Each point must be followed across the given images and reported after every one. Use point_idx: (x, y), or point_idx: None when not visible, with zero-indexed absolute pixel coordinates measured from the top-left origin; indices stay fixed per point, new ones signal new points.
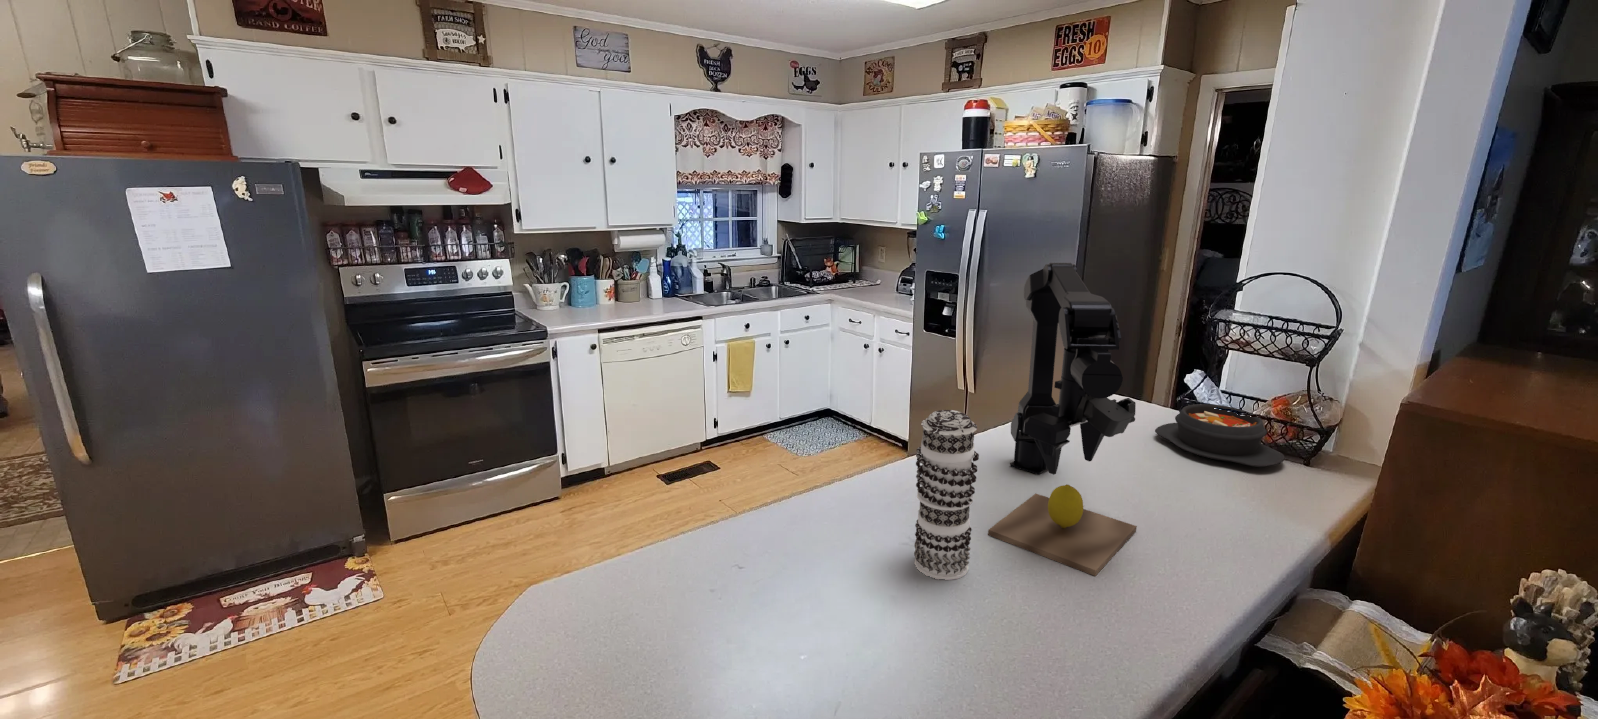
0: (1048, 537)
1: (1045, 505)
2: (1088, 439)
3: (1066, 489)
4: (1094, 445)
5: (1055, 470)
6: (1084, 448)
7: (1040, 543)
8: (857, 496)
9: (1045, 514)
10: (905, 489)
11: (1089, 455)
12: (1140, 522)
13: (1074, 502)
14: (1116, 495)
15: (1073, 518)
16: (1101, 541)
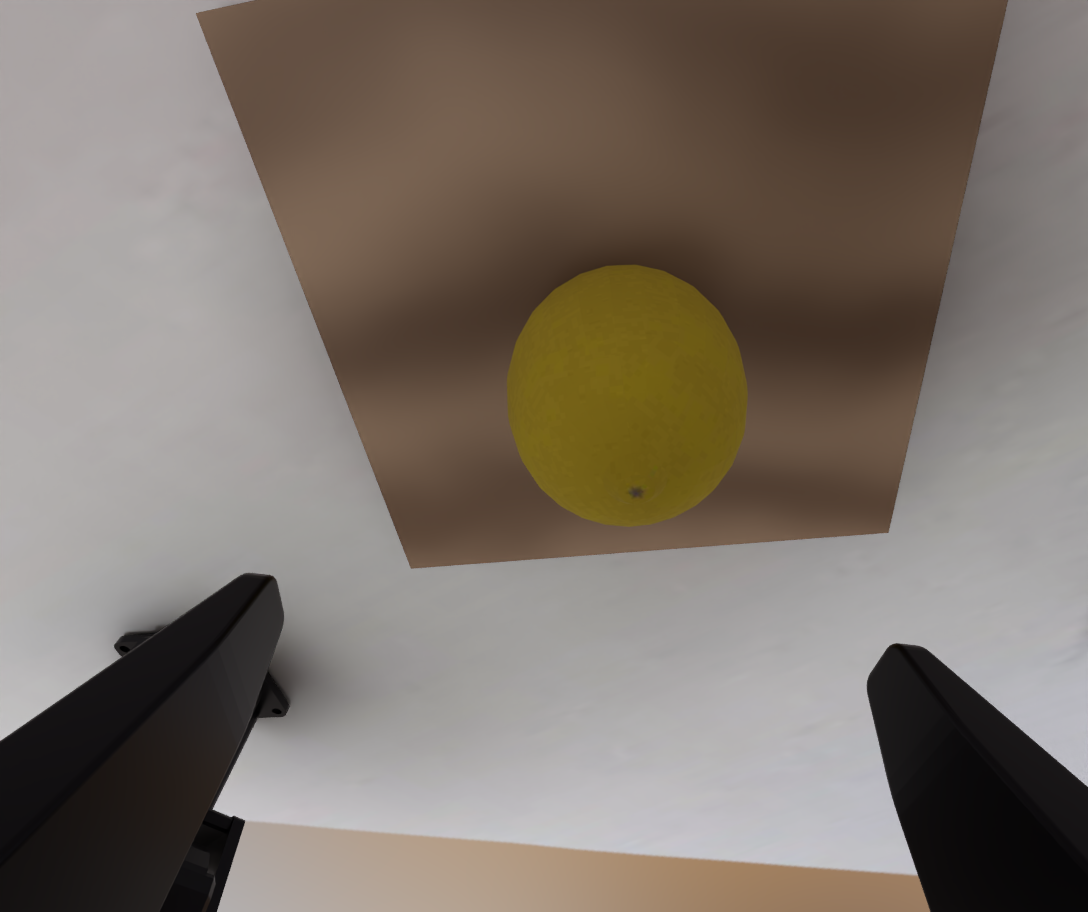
0: (777, 322)
1: (472, 494)
2: (100, 907)
3: (675, 464)
4: (109, 776)
5: (965, 687)
6: (222, 756)
7: (875, 315)
8: (877, 829)
9: None
10: (733, 790)
11: (243, 644)
12: (96, 66)
13: (697, 340)
14: (11, 343)
15: (685, 283)
16: (595, 70)
